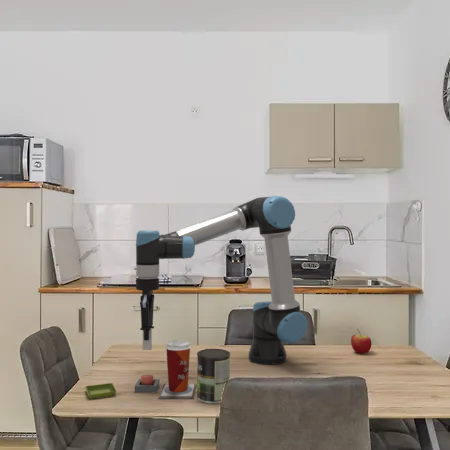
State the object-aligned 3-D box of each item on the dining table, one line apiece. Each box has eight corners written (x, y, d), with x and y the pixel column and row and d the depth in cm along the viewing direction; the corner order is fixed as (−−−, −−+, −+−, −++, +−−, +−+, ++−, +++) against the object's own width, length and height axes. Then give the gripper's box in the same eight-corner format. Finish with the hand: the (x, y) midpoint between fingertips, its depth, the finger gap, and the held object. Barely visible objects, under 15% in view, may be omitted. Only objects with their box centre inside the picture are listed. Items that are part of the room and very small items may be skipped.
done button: (154, 383, 160) (154, 374, 160) (152, 387, 156) (152, 378, 156) (142, 382, 160) (142, 374, 160) (140, 387, 156) (140, 378, 156)
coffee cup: (187, 394, 150) (187, 346, 150) (161, 392, 152) (161, 345, 151) (194, 385, 158) (194, 340, 158) (170, 383, 160) (170, 338, 160)
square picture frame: (196, 386, 160) (196, 382, 160) (193, 399, 148) (193, 395, 148) (163, 385, 161) (163, 381, 161) (158, 398, 149) (158, 394, 149)
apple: (354, 349, 207) (355, 326, 207) (374, 352, 202) (374, 329, 202) (347, 353, 201) (347, 329, 201) (367, 357, 196) (367, 332, 196)
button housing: (159, 385, 161) (159, 379, 161) (156, 392, 154) (156, 386, 154) (138, 384, 161) (138, 379, 161) (134, 392, 154) (134, 386, 154)
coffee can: (197, 404, 144) (197, 357, 144) (196, 392, 154) (196, 348, 154) (231, 403, 145) (231, 357, 145) (228, 391, 155) (228, 348, 155)
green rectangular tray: (88, 401, 147) (88, 394, 147) (85, 392, 155) (85, 386, 155) (116, 398, 151) (116, 391, 151) (112, 389, 159) (112, 382, 159)
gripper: (139, 275, 164) (139, 344, 164) (132, 279, 151) (131, 354, 151) (161, 275, 164) (161, 344, 164) (155, 279, 151) (155, 354, 151)
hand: (147, 349), depth 158 cm, fingers closed
